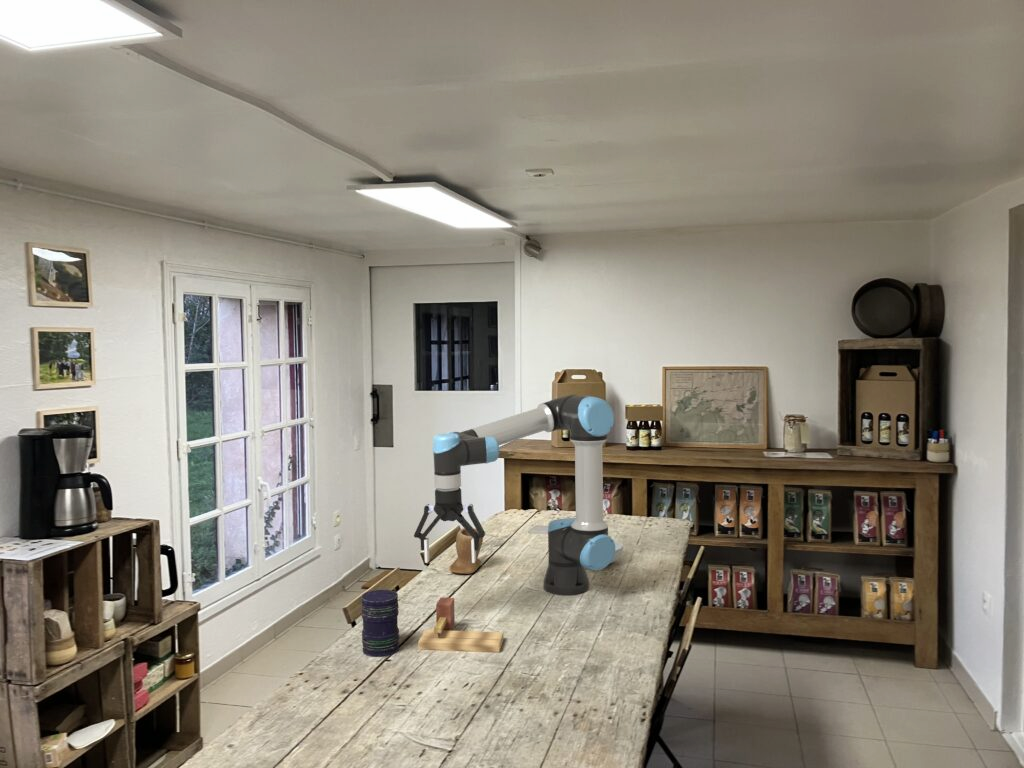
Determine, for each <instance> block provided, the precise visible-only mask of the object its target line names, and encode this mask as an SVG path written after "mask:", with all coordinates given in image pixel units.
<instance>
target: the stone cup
mask: <svg viewBox="0 0 1024 768" xmlns="http://www.w3.org/2000/svg"><path fill="white" fill-rule="evenodd" d="M473 529H474V530H475V531H476V532H477V530H476V528H475V527H473ZM477 533H478V532H477ZM472 538H473V537H472V536H471V535H470V534H469V533H468V532H467V531H466V529H465V528H464V527H463V528H461V529H460V530H458V532H457V533H456V538H455V550H456V554H457V558H456V559H455V560H454V561H453V562H452V563H451V565H450V566H449V569H448V570H449V572H451V573H453V574H454V573H455V574H461V575H463V574H467V575H469V574H473V573H475V572H476V571H477V570H478V568H479V567H480V566H481V564H482V560H481V559H479V558H478V557H479V554H480V551H481V550H482V549H481V548H482V546H483V542H484V537H483V538H480V539H479V549H478V551H476V561H475V563H472V548H471V540H472Z"/></svg>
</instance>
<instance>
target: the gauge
mask: <svg viewBox="0 0 1024 768" xmlns="http://www.w3.org/2000/svg"><path fill="white" fill-rule="evenodd" d="M435 609H436V610H435V613H436V614H435V616H436V617H435V620H436V624H435V626H434V627H433V630H434V633H438V636H440V633H441V632H442V630H449V631H455V627H456V625H455V597H440V598H439V599H438V601H437V602H436V605H435Z"/></svg>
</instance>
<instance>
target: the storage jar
mask: <svg viewBox="0 0 1024 768" xmlns="http://www.w3.org/2000/svg"><path fill="white" fill-rule="evenodd" d="M398 598H399V595H398V592H397V591H395V590H390V589H376V590H375V589H374V590H371V591H370V590H369V591H367V592H364V593H363V594H362V595H361V607H360V609H361V614H360V615H361V618H362V632H361V642H362V647H363V648H362V653H363V655H365V656H367V657H372V658H384V657H389V656H393V655H395V654H396V653H398V652H399V650H400V647H399V643H400V629H399V627H398V624H399V623H398V616H399V599H398Z"/></svg>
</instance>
